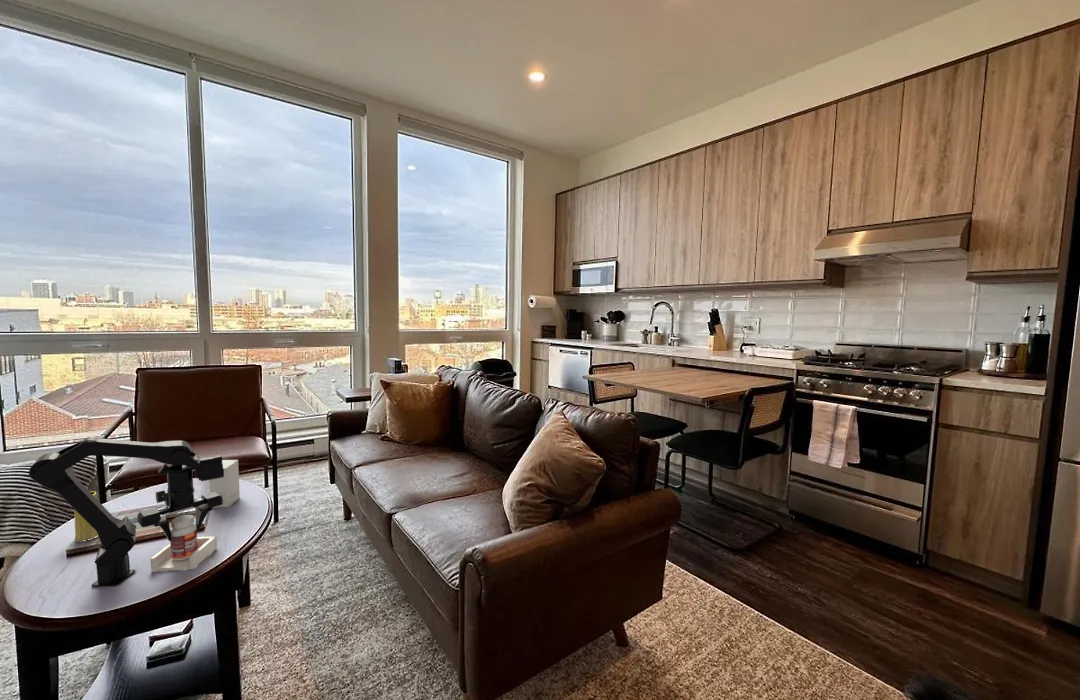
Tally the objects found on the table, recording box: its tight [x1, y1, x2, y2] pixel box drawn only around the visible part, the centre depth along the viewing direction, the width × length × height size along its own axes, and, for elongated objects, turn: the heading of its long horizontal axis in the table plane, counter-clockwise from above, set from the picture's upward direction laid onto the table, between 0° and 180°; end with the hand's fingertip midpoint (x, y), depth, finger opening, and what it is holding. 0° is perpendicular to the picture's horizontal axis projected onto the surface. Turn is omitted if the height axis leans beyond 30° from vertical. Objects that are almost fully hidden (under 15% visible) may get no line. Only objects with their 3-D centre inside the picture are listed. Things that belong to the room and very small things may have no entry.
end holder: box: [149, 535, 218, 573], centre depth 130 cm, size 11×11×4 cm
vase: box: [73, 490, 98, 542], centre depth 140 cm, size 6×6×14 cm
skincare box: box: [208, 459, 241, 509], centre depth 166 cm, size 8×7×16 cm
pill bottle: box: [169, 514, 198, 560], centre depth 129 cm, size 6×6×11 cm
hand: (183, 535), depth 129 cm, fingers closed on pill bottle, 6 cm apart
